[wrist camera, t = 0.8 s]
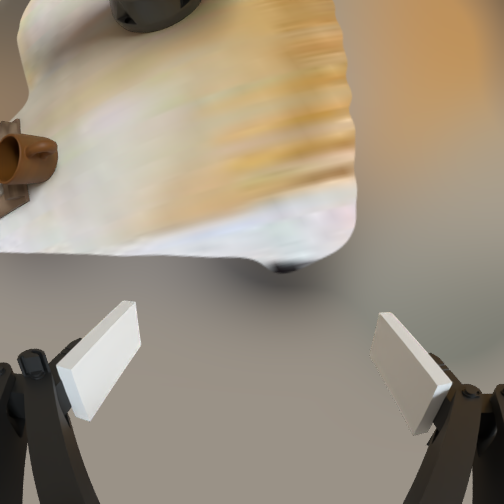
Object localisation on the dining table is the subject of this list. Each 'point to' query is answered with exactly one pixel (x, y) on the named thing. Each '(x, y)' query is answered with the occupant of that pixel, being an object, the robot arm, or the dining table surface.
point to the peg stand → (11, 196)
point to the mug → (26, 159)
